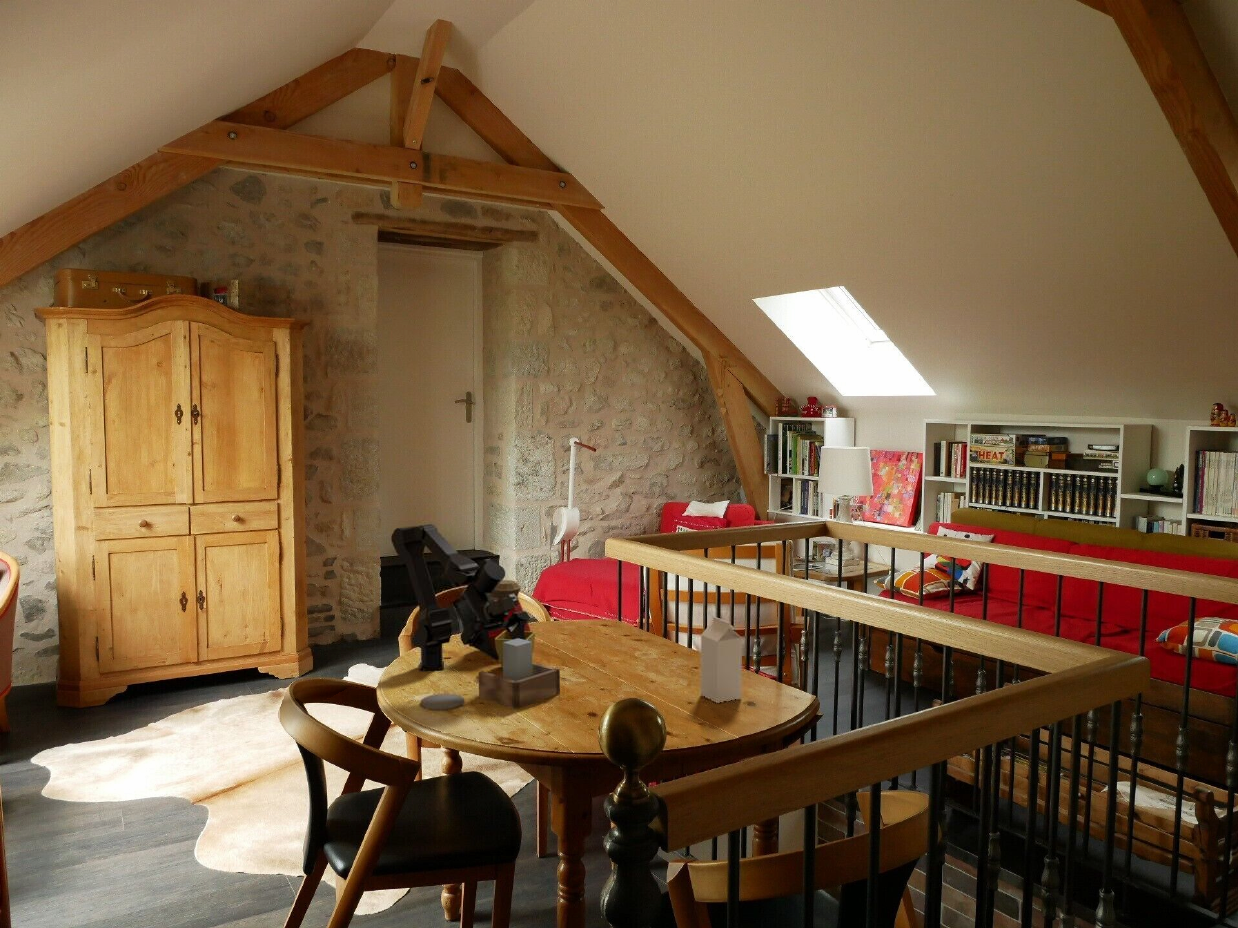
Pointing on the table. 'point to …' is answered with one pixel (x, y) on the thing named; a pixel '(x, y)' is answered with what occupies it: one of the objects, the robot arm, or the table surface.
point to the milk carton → (721, 662)
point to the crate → (520, 687)
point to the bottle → (500, 593)
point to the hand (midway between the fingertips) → (512, 655)
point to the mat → (442, 701)
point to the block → (517, 659)
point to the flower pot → (505, 637)
